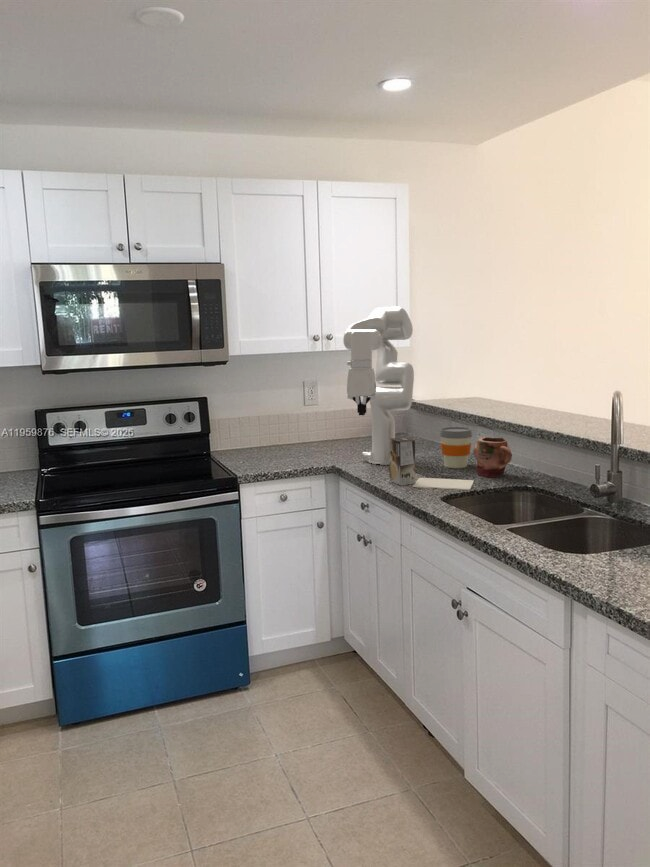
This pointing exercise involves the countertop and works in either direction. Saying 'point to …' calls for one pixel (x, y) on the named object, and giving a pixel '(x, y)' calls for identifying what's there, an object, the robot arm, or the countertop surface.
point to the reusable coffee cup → (455, 446)
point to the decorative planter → (491, 456)
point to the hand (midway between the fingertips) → (362, 414)
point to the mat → (444, 483)
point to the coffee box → (402, 460)
